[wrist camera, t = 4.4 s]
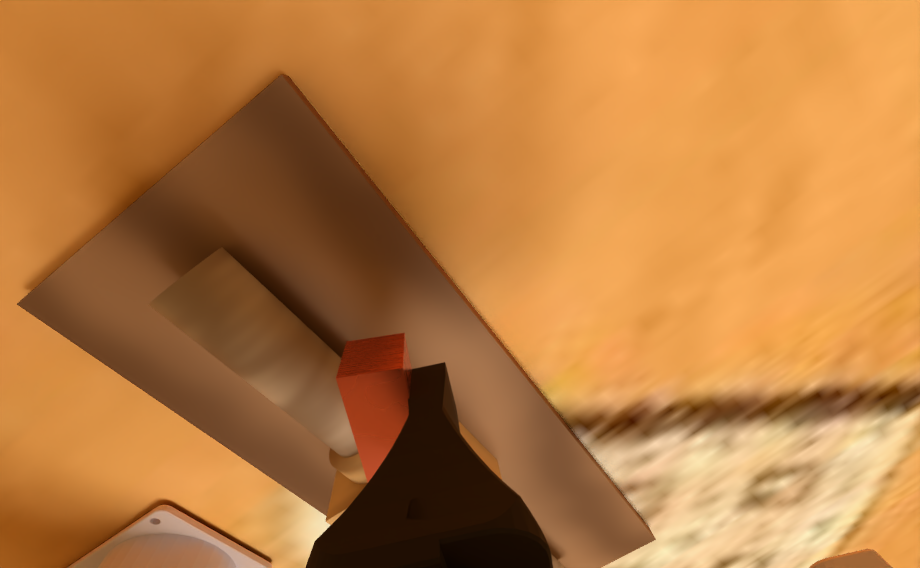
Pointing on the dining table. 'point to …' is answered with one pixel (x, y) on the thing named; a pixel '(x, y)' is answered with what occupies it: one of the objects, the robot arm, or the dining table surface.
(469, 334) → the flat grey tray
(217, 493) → the dining table surface
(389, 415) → the valve lever
